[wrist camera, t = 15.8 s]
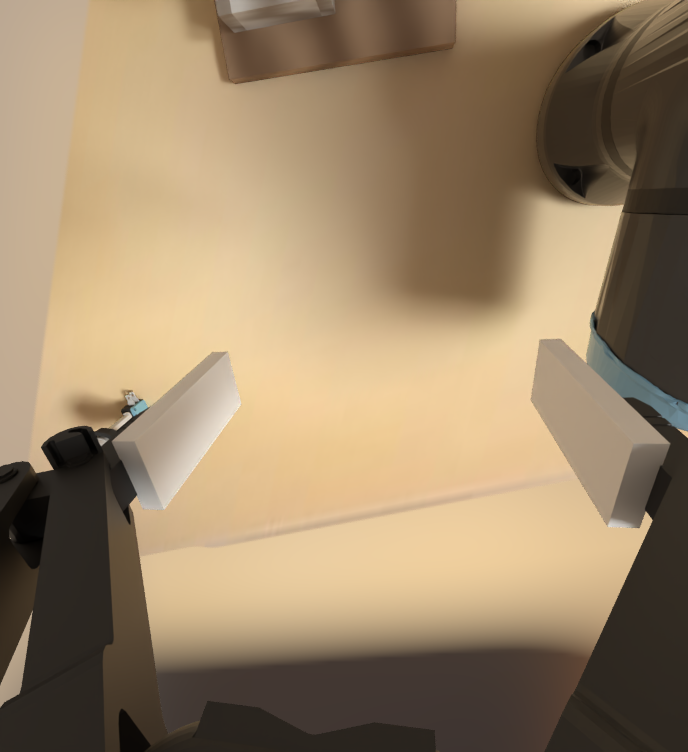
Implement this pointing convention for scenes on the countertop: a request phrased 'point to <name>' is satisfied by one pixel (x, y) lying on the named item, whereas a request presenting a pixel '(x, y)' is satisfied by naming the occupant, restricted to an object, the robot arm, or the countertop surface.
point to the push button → (128, 414)
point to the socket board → (327, 33)
